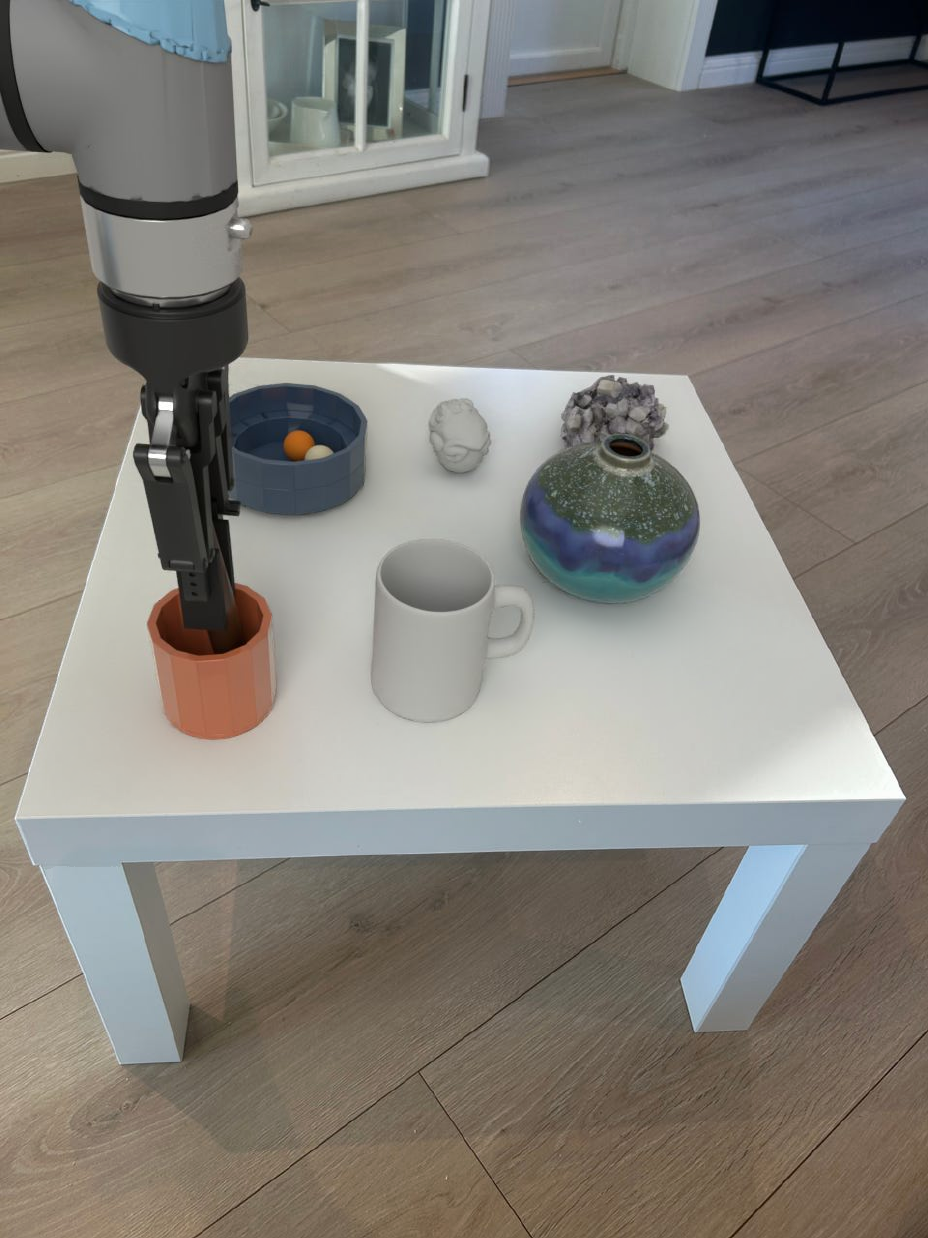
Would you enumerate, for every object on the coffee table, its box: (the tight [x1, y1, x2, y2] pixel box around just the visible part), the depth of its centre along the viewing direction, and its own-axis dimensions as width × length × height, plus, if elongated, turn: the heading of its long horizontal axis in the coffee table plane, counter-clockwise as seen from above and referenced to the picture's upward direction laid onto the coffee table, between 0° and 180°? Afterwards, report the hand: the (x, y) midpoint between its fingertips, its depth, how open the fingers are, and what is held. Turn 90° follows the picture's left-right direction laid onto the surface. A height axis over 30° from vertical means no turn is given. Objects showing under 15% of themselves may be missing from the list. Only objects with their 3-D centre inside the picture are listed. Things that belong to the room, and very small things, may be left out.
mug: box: [370, 538, 535, 723], centre depth 72 cm, size 12×8×11 cm
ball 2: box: [304, 445, 334, 460], centre depth 92 cm, size 3×3×3 cm
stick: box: [207, 522, 247, 654], centre depth 66 cm, size 2×2×18 cm
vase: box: [519, 434, 701, 604], centre depth 83 cm, size 15×15×13 cm
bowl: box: [228, 382, 369, 516], centre depth 92 cm, size 14×14×6 cm
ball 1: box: [284, 431, 315, 461], centre depth 94 cm, size 3×3×3 cm
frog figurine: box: [428, 397, 492, 474], centre depth 95 cm, size 6×7×7 cm
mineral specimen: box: [559, 374, 670, 452], centre depth 100 cm, size 12×9×10 cm
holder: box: [146, 582, 277, 740], centre depth 69 cm, size 8×8×8 cm
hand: (210, 610), depth 66 cm, fingers closed on stick, 2 cm apart
